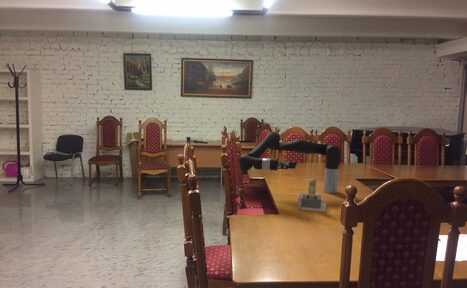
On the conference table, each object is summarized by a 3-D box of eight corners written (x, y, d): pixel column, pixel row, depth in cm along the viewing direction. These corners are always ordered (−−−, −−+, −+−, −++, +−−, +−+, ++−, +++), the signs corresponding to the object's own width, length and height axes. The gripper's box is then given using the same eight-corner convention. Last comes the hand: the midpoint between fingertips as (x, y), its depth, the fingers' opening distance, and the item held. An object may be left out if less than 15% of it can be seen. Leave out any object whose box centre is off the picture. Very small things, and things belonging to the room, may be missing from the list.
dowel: (308, 203, 222) (309, 178, 220) (314, 204, 221) (316, 178, 219) (307, 205, 219) (309, 179, 216) (314, 206, 218) (315, 180, 215)
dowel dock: (299, 202, 229) (300, 193, 228) (326, 204, 224) (326, 195, 224) (297, 208, 215) (298, 199, 215) (325, 211, 211) (325, 201, 210)
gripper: (268, 160, 222) (295, 161, 218) (271, 156, 236) (297, 157, 232) (268, 172, 223) (294, 173, 219) (271, 168, 237) (297, 169, 233)
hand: (296, 165), depth 225 cm, fingers open, 8 cm apart
